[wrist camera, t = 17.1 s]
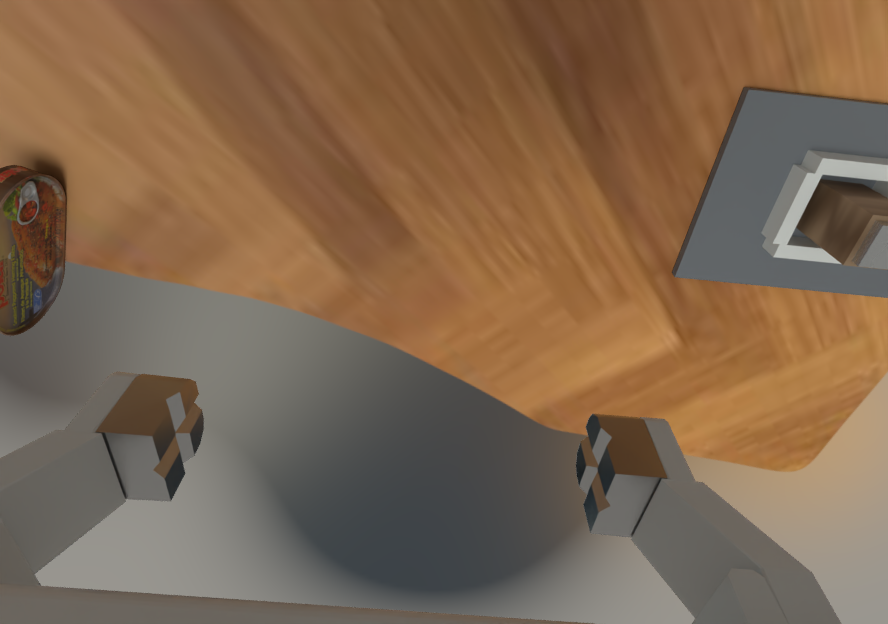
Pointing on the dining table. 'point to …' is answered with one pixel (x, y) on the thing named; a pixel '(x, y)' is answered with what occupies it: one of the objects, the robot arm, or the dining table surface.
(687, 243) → the end holder
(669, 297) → the dining table surface
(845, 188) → the plug
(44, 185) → the tin
